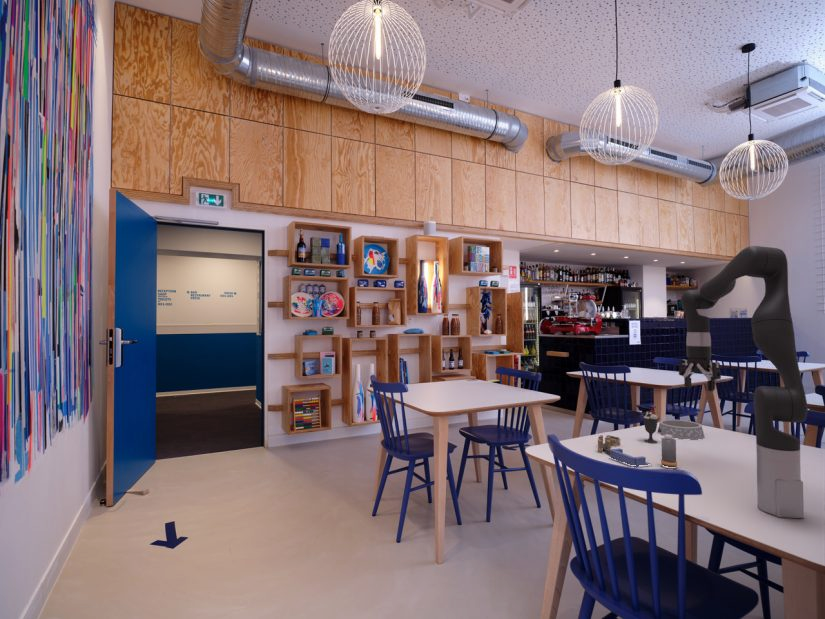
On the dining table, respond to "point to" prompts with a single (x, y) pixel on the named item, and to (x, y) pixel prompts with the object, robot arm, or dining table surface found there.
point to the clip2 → (606, 439)
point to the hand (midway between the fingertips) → (699, 389)
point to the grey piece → (668, 451)
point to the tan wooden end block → (614, 440)
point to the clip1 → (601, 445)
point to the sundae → (650, 424)
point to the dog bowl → (681, 429)
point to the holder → (627, 458)
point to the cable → (606, 449)
